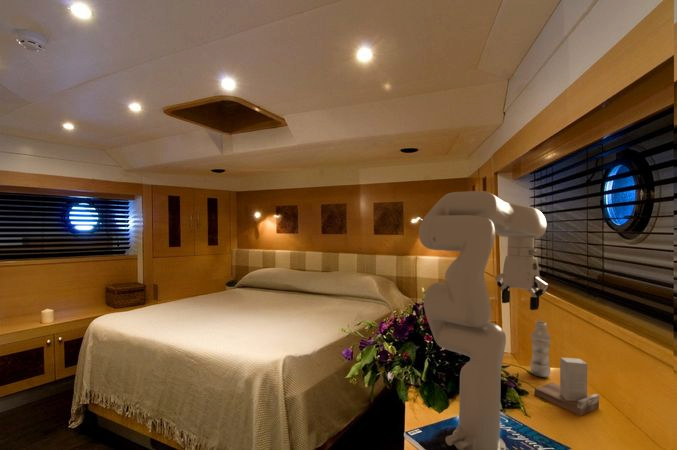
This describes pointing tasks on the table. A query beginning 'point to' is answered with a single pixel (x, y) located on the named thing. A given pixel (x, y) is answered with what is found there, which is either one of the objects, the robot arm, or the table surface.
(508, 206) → the robot arm
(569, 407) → the shelf board
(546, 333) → the plastic bottle
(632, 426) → the table surface
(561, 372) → the skincare box
